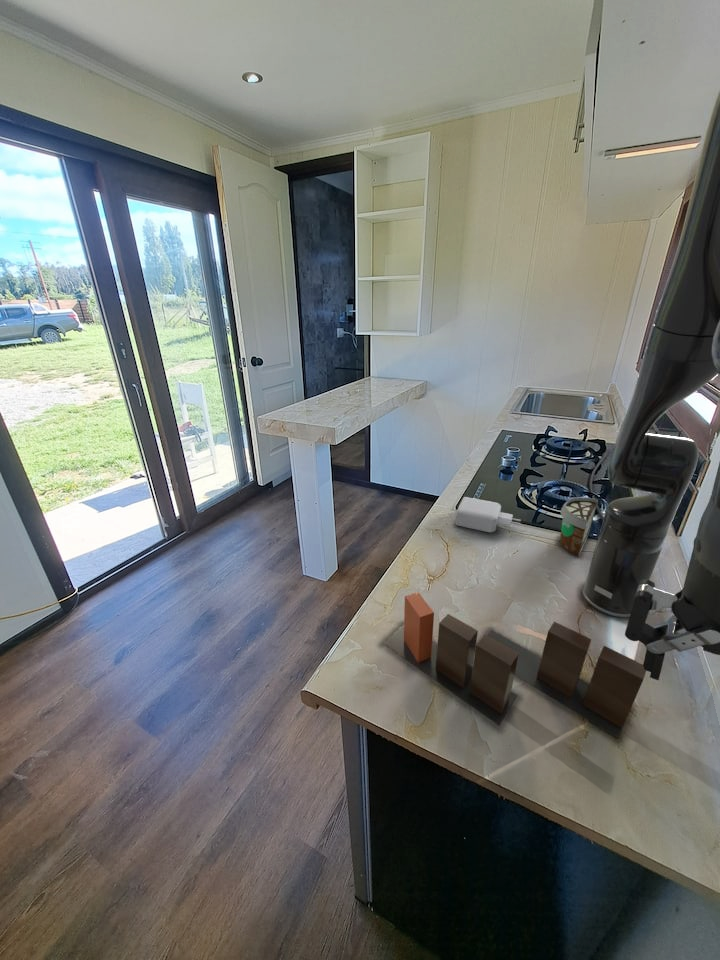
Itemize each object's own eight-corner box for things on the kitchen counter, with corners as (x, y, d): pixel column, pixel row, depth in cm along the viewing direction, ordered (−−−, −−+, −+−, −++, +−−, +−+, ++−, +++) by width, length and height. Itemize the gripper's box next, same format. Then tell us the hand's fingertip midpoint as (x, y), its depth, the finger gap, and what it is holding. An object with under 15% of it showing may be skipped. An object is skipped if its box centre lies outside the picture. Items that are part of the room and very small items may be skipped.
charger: (516, 540, 92) (455, 526, 99) (521, 521, 100) (463, 510, 106) (519, 523, 90) (456, 510, 96) (523, 505, 98) (464, 495, 104)
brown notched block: (491, 630, 68) (498, 586, 64) (628, 707, 55) (650, 657, 50) (474, 652, 64) (481, 605, 60) (618, 740, 51) (640, 689, 47)
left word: (404, 624, 70) (405, 580, 66) (517, 696, 57) (527, 647, 52) (383, 644, 66) (382, 599, 62) (498, 727, 53) (508, 677, 49)
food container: (561, 526, 97) (570, 491, 93) (589, 534, 93) (598, 498, 89) (547, 549, 89) (555, 512, 84) (576, 559, 85) (586, 521, 81)
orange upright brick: (416, 635, 67) (418, 591, 63) (431, 657, 63) (434, 612, 59) (403, 639, 67) (404, 595, 62) (417, 662, 62) (420, 617, 58)
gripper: (904, 556, 26) (822, 702, 34) (649, 511, 35) (627, 634, 43) (940, 632, 22) (835, 783, 29) (635, 558, 31) (613, 687, 38)
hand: (711, 694), depth 36 cm, fingers open, 8 cm apart
